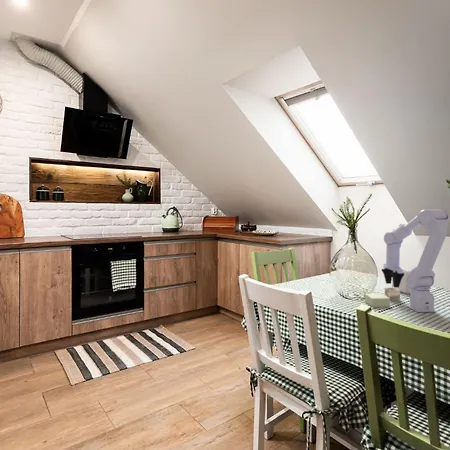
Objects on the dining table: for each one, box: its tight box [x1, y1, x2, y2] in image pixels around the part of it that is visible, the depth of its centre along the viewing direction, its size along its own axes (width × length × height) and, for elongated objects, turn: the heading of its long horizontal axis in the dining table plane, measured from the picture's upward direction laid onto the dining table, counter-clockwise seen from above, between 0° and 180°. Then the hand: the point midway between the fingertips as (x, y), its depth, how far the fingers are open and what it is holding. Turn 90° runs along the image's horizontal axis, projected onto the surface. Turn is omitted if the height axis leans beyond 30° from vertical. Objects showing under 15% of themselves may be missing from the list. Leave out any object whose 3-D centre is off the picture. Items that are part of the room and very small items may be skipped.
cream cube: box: [384, 287, 401, 301], centre depth 168 cm, size 5×5×5 cm
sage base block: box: [364, 293, 391, 308], centre depth 160 cm, size 8×8×4 cm
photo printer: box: [391, 266, 411, 294], centre depth 182 cm, size 10×4×12 cm, turn 17°
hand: (392, 285), depth 168 cm, fingers open, 7 cm apart
